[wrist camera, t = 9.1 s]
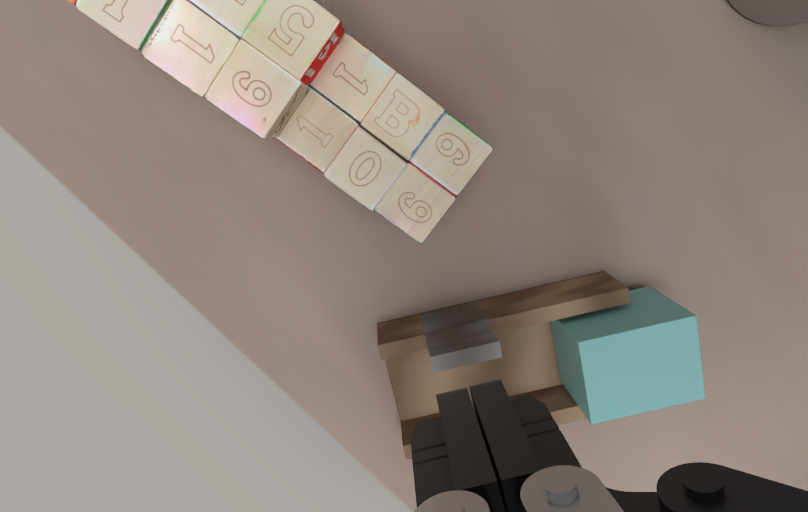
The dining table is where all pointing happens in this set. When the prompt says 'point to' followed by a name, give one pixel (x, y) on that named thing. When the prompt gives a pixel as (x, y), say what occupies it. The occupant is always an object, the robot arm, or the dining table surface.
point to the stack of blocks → (310, 96)
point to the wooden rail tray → (489, 347)
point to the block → (630, 357)
